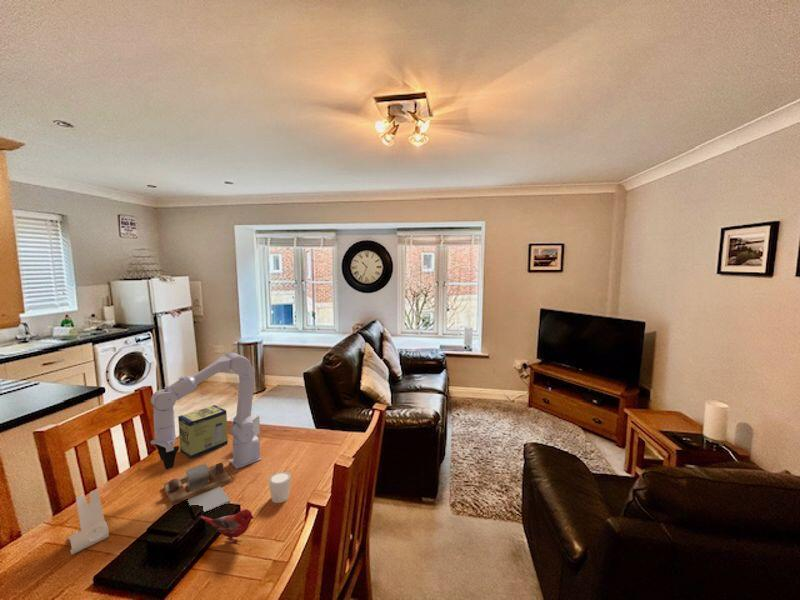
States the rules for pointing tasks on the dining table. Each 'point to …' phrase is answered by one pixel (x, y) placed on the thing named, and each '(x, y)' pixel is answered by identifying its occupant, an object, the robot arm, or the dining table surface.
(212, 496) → the grey square tile
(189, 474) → the lever cap
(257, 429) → the skincare box
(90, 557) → the dining table surface
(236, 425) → the robot arm
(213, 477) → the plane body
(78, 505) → the plastic part
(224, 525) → the decorative bird figurine
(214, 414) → the protein box
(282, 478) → the white cylinder
